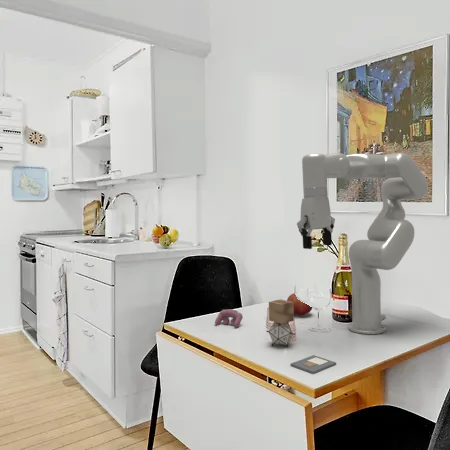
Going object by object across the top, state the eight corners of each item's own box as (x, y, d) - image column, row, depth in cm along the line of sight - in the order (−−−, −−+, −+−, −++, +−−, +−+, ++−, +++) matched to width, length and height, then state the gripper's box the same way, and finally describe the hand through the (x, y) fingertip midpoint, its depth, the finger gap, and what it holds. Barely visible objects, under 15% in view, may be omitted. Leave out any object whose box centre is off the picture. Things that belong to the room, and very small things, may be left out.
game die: (285, 355, 140) (303, 329, 141) (280, 354, 132) (299, 326, 133) (263, 338, 144) (280, 313, 144) (257, 336, 136) (275, 310, 137)
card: (313, 357, 127) (313, 354, 127) (336, 364, 121) (336, 362, 121) (290, 365, 121) (290, 363, 121) (313, 374, 115) (313, 371, 115)
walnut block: (281, 317, 142) (280, 299, 142) (293, 320, 138) (293, 301, 138) (269, 320, 139) (268, 301, 138) (281, 323, 134) (281, 304, 134)
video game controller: (241, 330, 161) (245, 312, 163) (236, 327, 157) (239, 309, 159) (219, 327, 166) (223, 309, 168) (213, 324, 162) (217, 306, 165)
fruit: (309, 311, 179) (309, 287, 179) (316, 318, 170) (315, 292, 169) (284, 312, 179) (283, 288, 178) (289, 319, 169) (288, 293, 168)
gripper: (323, 192, 146) (325, 243, 148) (287, 195, 136) (290, 249, 137) (342, 191, 140) (344, 244, 142) (306, 194, 130) (308, 250, 131)
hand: (317, 246), depth 139 cm, fingers open, 9 cm apart
